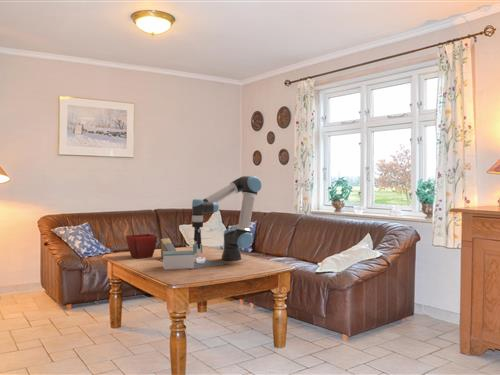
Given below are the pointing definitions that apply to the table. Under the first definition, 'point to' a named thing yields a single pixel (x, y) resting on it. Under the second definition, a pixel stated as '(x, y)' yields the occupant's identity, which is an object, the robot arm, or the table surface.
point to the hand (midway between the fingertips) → (197, 251)
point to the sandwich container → (166, 246)
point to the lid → (182, 252)
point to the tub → (178, 262)
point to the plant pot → (141, 245)
